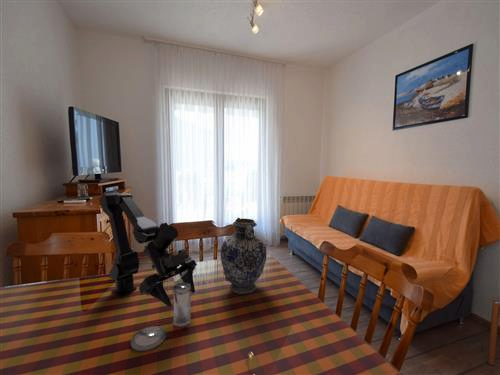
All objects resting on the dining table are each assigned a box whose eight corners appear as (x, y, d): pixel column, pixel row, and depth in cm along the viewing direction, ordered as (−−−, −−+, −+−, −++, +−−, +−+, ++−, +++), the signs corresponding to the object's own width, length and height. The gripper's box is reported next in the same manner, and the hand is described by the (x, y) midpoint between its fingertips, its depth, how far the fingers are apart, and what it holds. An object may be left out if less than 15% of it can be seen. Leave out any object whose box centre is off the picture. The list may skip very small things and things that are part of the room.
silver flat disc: (123, 344, 62) (123, 340, 62) (150, 324, 71) (150, 321, 70) (146, 356, 59) (146, 351, 58) (172, 334, 67) (172, 330, 67)
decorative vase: (215, 278, 102) (217, 215, 100) (255, 274, 107) (257, 214, 106) (225, 305, 81) (228, 227, 79) (274, 298, 87) (277, 225, 85)
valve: (186, 292, 90) (186, 262, 89) (171, 290, 91) (171, 260, 91) (194, 284, 97) (194, 256, 96) (179, 282, 98) (179, 254, 97)
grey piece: (169, 324, 71) (169, 288, 70) (181, 314, 76) (181, 281, 75) (182, 329, 69) (182, 292, 68) (194, 319, 73) (194, 284, 73)
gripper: (143, 251, 66) (169, 300, 60) (193, 236, 81) (216, 274, 76) (129, 271, 70) (151, 319, 65) (178, 253, 86) (199, 291, 81)
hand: (182, 298), depth 71 cm, fingers open, 9 cm apart
